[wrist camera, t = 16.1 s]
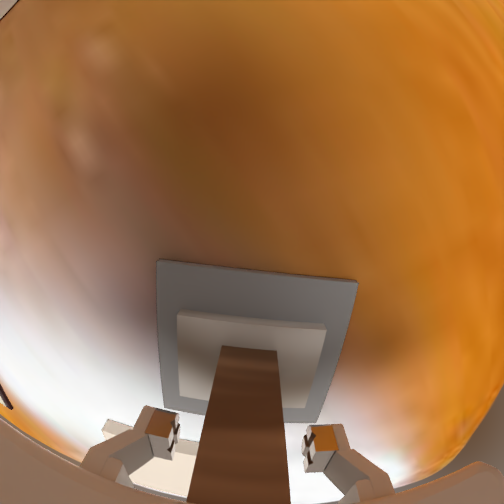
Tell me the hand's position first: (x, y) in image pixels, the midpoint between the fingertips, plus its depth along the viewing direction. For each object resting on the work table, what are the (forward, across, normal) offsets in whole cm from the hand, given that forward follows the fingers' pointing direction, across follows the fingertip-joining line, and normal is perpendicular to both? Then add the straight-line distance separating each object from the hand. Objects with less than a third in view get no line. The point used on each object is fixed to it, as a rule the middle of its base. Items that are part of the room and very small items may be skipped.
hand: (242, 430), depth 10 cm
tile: (+6, +7, +10) cm, 13 cm away
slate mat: (+6, 0, 0) cm, 6 cm away
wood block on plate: (+6, 0, 0) cm, 6 cm away
